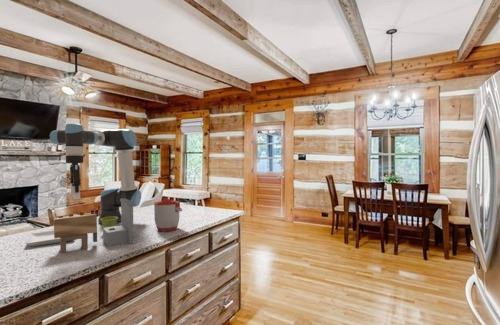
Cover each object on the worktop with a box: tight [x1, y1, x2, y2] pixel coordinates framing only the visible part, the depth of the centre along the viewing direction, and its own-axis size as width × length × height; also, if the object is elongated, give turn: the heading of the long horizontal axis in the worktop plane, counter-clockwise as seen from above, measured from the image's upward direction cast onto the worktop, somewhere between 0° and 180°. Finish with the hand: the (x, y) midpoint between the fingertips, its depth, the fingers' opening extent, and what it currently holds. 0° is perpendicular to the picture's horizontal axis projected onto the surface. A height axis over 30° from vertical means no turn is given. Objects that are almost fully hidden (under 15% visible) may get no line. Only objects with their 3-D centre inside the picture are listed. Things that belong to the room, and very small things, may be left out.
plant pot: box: [101, 217, 118, 229], centre depth 169 cm, size 9×9×9 cm
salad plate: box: [25, 229, 60, 247], centre depth 155 cm, size 21×21×3 cm
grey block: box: [102, 198, 135, 247], centre depth 152 cm, size 19×12×22 cm, turn 37°
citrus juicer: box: [153, 197, 183, 232], centre depth 176 cm, size 16×17×20 cm
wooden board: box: [53, 213, 98, 243], centre depth 140 cm, size 3×18×14 cm, turn 127°
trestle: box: [60, 233, 89, 254], centre depth 140 cm, size 8×11×7 cm
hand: (75, 197), depth 140 cm, fingers open, 13 cm apart
